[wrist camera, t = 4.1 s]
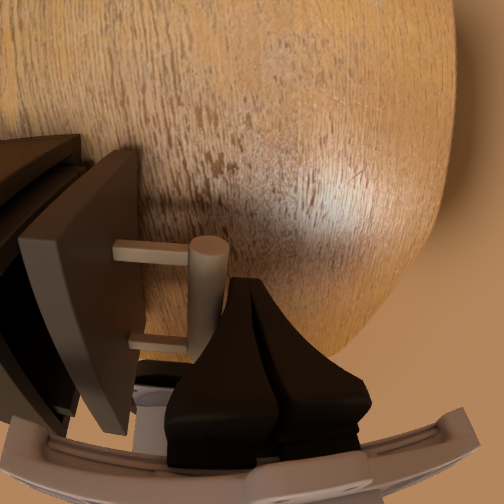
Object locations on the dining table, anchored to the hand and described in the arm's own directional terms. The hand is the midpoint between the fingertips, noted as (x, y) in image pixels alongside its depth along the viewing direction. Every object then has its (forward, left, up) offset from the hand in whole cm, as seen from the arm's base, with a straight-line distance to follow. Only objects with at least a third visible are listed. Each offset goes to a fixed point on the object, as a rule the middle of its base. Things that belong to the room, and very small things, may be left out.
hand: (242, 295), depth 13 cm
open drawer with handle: (0, +10, -3) cm, 10 cm away
